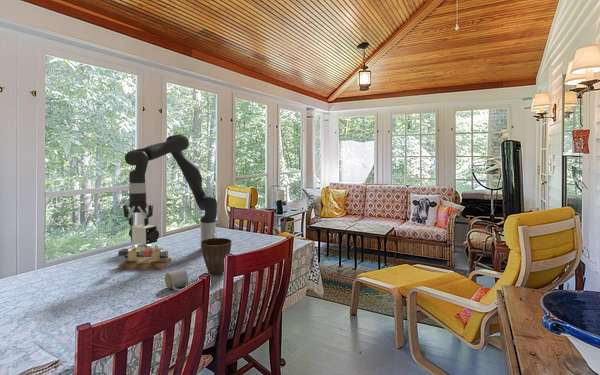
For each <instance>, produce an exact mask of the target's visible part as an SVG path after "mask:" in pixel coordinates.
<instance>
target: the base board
mask: <svg viewBox="0 0 600 375" xmlns="http://www.w3.org/2000/svg"><path fill="white" fill-rule="evenodd" d="M172 261H173V258H172V257H168V261H167V262H166V263H161V260H151V257H141V258H139V259H138V260H131V261H130V262H128V263H123V262H122V263H119V265H118V270H163V269H164V268H166V267H167V266H168V265H169V264H170V263H172Z"/></svg>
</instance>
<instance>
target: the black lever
mask: <svg viewBox="0 0 600 375" xmlns="http://www.w3.org/2000/svg"><path fill="white" fill-rule="evenodd" d="M137 246H138V245H137V244H134V245H131V246H130V247H129V248H122V249H120V250H119V251H117V252H118V254H117V255H118V257H124V256H125V255H126V254H128V252H129V251H131V250H132V249H135V248H137Z"/></svg>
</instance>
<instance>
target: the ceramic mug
mask: <svg viewBox="0 0 600 375" xmlns="http://www.w3.org/2000/svg"><path fill="white" fill-rule="evenodd" d="M164 282H165V286H166V288H167V289H168V290H174V291H175V292H177V291H179V290H181V289H182V288H181V287H184V288H185V287H186V286H187V287H188V285H189V275H188V273H187V271H186V269H185V268H182V267H181V268H179V269H175V270H173V271H169V272H167V273H166V274H165V276H164Z"/></svg>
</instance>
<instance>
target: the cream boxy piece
mask: <svg viewBox="0 0 600 375" xmlns="http://www.w3.org/2000/svg"><path fill="white" fill-rule="evenodd" d="M159 232H160V231H159V230H158V229H157V225H152V224H151V225H150V224H148V225H147V226H144V223H141V224H135V225H134V224H133V226H130V229H129V231H128V236H129V237H130V242H131V243H137V244H138V245H137V248H141V250H146V249H152V248H154V246H153V243H157V242H158V240H159V237H160V233H159Z"/></svg>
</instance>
